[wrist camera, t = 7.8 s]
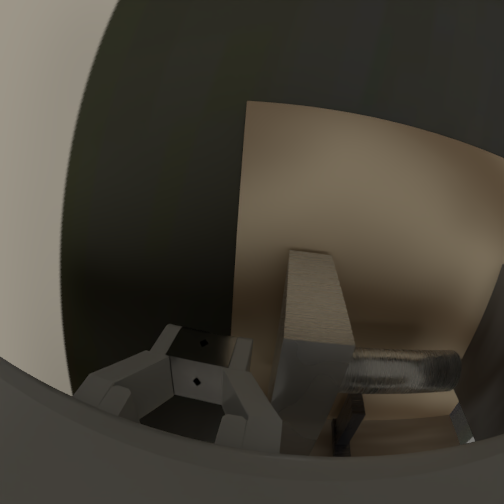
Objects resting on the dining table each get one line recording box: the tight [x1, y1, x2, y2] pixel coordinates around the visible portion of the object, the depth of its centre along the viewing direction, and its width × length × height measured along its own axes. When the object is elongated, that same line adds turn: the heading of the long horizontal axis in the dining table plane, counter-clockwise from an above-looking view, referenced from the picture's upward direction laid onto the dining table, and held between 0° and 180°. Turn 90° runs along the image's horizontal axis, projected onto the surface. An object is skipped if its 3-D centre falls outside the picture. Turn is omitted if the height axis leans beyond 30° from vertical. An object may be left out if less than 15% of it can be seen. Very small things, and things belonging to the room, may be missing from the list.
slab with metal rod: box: [267, 250, 462, 456], centre depth 9 cm, size 8×7×5 cm
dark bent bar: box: [331, 393, 366, 457], centre depth 8 cm, size 3×2×10 cm, turn 176°
